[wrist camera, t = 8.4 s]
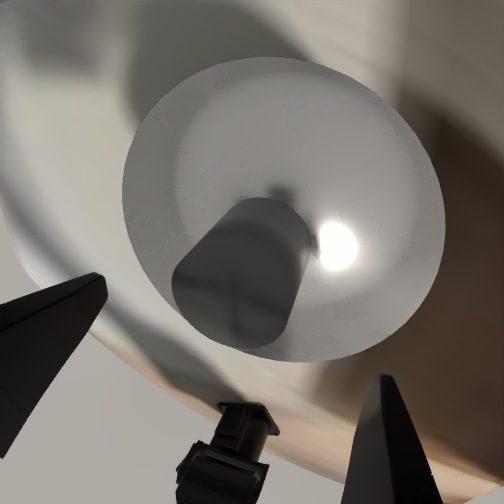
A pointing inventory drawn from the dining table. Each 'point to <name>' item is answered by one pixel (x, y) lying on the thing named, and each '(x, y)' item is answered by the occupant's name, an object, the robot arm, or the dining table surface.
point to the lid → (283, 209)
